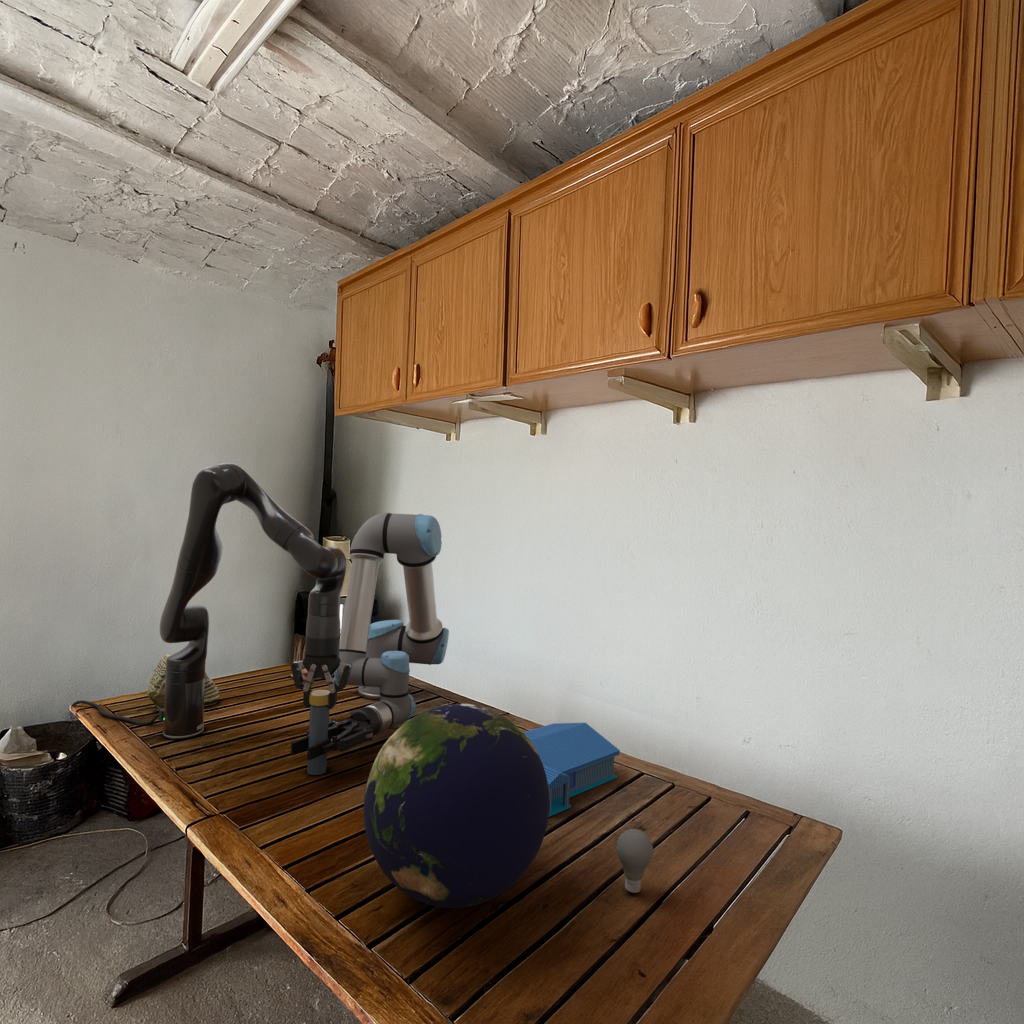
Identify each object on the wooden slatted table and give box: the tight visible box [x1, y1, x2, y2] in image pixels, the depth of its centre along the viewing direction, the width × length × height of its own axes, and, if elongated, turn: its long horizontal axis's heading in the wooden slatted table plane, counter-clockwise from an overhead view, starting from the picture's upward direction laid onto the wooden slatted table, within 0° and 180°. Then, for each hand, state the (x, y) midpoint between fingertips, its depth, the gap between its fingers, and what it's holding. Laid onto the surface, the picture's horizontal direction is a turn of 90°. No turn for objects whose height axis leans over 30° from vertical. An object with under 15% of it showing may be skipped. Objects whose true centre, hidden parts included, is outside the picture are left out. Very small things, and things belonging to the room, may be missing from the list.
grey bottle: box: [306, 705, 330, 776], centre depth 146 cm, size 4×4×18 cm
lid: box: [309, 689, 330, 706], centre depth 146 cm, size 5×5×2 cm
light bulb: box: [615, 828, 654, 894], centre depth 106 cm, size 6×6×10 cm
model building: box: [523, 722, 621, 818], centre depth 143 cm, size 39×24×10 cm, turn 132°
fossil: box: [147, 654, 221, 711], centre depth 185 cm, size 9×18×15 cm, turn 132°
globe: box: [363, 703, 549, 909], centre depth 103 cm, size 30×30×30 cm
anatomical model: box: [290, 667, 324, 681], centre depth 221 cm, size 13×4×12 cm
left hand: (319, 707), depth 146 cm, fingers closed on lid, 4 cm apart
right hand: (300, 751), depth 141 cm, fingers closed on grey bottle, 4 cm apart
